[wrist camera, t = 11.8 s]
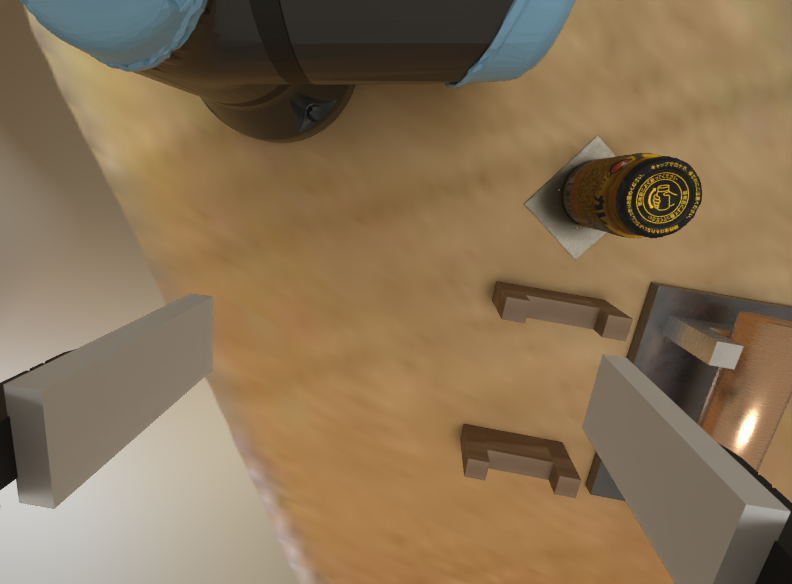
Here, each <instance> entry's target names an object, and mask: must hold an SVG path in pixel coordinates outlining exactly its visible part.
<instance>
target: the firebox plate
mask: <svg viewBox="0 0 792 584" xmlns="http://www.w3.org/2000/svg"><path fill="white" fill-rule="evenodd" d="M740 311H745V312H753V313H758V314H763V315H768V316H772V317H776V318H780V319H784V320H787V321H791V322H792V307H791V306H785V305H779V304H773V303H768V302H762V301H756V300H750V299H745V298H739V297H733V296H727V295H722V294H716V293H710V292H704V291H698V290H693V289H687V288H681V287H675V286H670V285H664V284H658V283H652V282H651V285H650V288H649V291H648V294H647V297H646V300H645V303H644V306H643V309H642V312H641V315H640V318H639V322H638V325H637V328H636V331H635V334H634V337H633V340H632V343H631V346H630V349H629V352H628V355H627V359H628V360H629V361H630V362H632V363H633V364H634V365H635V366H636V367H637V368H638V369H639V370H640V371H641V372H642V373H643V374H644V375H645V376H646V377H648V378H649V379H650V380H651V381H652V382H653V383H654V384H655V385H656V386H657V387H658V388H659V389H660V390H661V391H662V392H664V393H665V394H666V395H667V396H668V397H669V398H670V399H671V400H672V401H673V402H674V403H675V404H676V405H677V406H679V407H680V408H681V409H682V410H683V411H684V412H685V413H686V414H687V415H688V416H689V417H690V418H691V419H692V420H693V421H695V422H697V419H698V417H699V414H700V411H701V409H702V406H703V404H704V401H705V398H706V396H707V393H708V391H709V388H710V386H711V383H712V380H713V378H714V375H715V373H716V370H717V367H723V368H729V369H735V367H736V364H737V362H738V359H739V357H740V354H741V352H742V349H743V347H744V346H743V345H741V344H739V343H737V342H735V341H733V340H731V339H729V336H730V334H731V331H732V329H733V326H734V324H735V321H736V318H737V316H738V313H739V312H740ZM586 487H587V489H588V491H589V492H590V494H591V495H597V496H602V497H607V498H612V499H617V500H622V501H625V499H624V497H623V495H622V494H621V492H620V490H619V489H618V487H617V485H616V484H615V482H614V480H613V479H612V477H611V475H610V474H609V472H608V470H607V469H606V467H605V465H604V464H603V462H602V460H601V459H600V457H599V455H598V453H597V452H596V454H595V457H594V460H593V463H592V466H591V469H590V472H589V475H588V479H587V482H586Z"/></svg>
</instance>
